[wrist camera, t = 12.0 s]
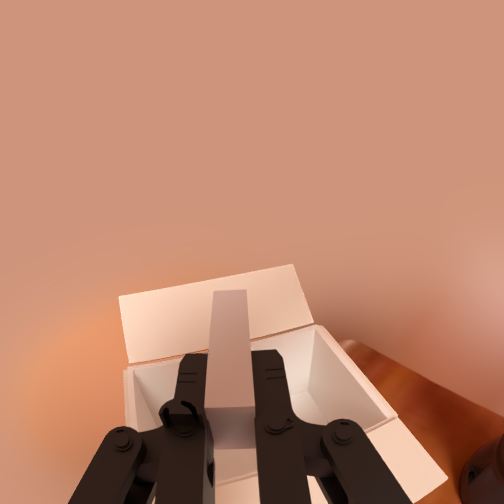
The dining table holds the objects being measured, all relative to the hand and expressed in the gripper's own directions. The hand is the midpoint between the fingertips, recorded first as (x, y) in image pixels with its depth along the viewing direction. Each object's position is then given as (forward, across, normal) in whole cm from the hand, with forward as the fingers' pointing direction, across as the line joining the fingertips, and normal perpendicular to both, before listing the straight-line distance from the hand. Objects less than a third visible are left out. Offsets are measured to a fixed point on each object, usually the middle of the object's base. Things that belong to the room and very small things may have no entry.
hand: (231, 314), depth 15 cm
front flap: (+25, -3, -18) cm, 31 cm away
